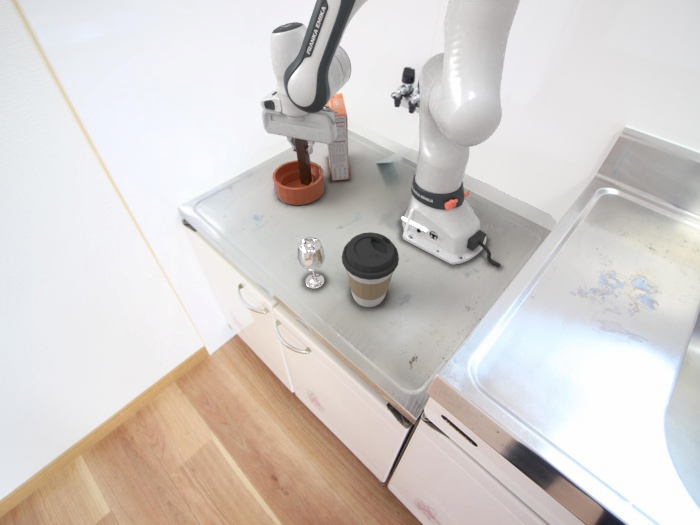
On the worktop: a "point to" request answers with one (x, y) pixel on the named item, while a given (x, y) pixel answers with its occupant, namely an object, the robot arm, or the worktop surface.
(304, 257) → the wineglass
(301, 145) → the stick
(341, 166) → the cracker box
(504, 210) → the worktop surface
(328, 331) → the worktop surface
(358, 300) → the coffee cup
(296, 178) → the bowl
